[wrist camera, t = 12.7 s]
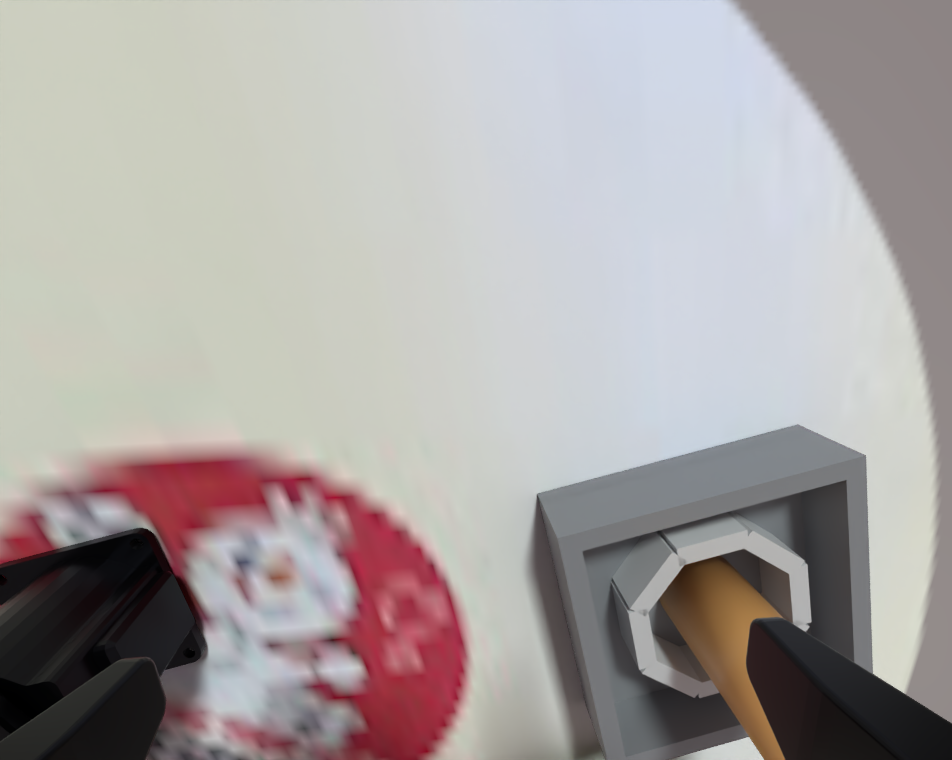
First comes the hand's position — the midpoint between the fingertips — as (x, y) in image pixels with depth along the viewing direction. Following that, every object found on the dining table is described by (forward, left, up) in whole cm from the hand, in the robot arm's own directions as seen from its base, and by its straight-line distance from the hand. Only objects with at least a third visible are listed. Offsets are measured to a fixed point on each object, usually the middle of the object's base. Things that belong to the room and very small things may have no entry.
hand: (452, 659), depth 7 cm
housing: (+9, -11, -13) cm, 19 cm away
